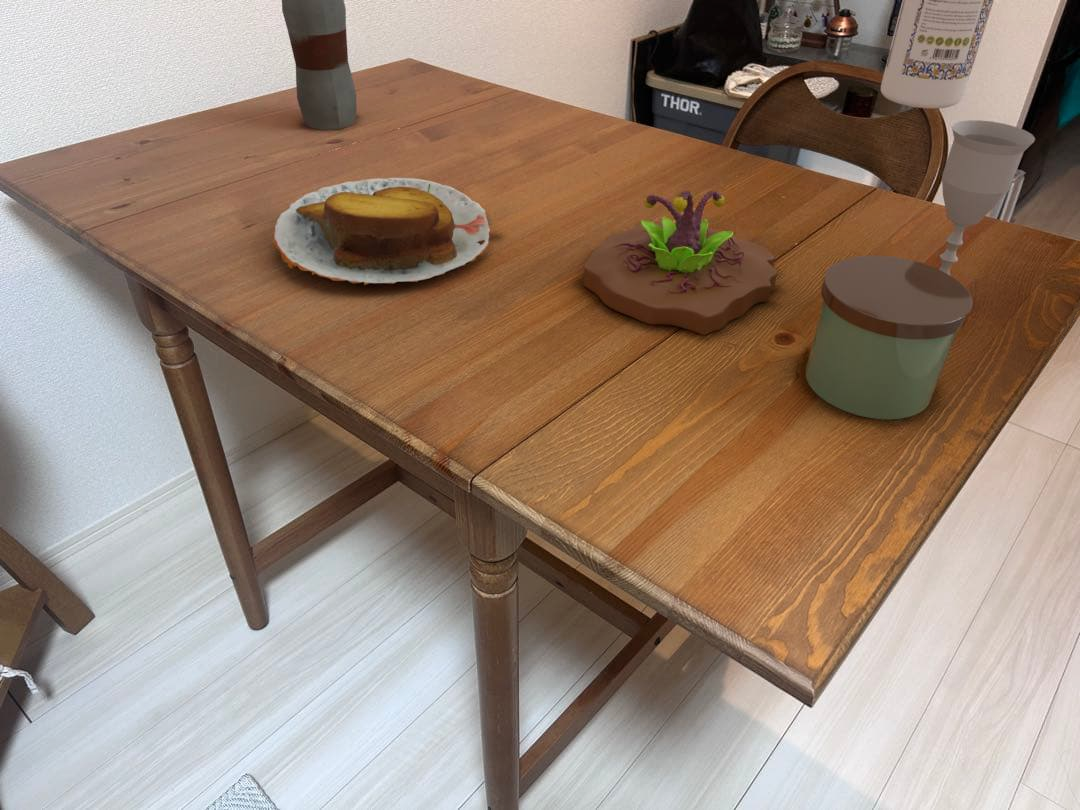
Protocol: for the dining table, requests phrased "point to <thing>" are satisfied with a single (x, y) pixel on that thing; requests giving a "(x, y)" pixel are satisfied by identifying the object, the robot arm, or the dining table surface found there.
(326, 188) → the food on plate
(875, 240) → the dining table surface
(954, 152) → the chalice
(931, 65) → the bath foam
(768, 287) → the plant
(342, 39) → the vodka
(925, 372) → the canister
